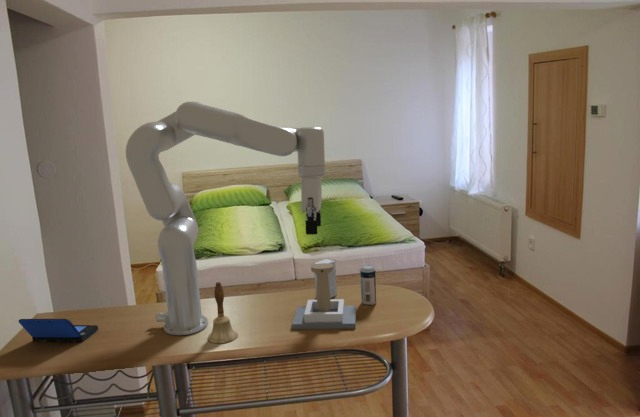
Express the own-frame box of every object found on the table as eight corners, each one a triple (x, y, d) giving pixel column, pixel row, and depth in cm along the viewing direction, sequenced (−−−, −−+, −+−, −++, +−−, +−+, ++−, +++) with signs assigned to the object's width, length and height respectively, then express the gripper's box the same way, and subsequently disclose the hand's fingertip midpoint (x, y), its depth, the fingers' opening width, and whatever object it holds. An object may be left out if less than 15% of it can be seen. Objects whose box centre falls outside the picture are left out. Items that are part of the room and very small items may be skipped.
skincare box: (328, 292, 173) (326, 258, 170) (337, 295, 169) (335, 261, 167) (315, 297, 169) (313, 263, 166) (323, 300, 166) (322, 265, 163)
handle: (335, 317, 149) (333, 268, 146) (313, 318, 149) (310, 268, 146) (335, 310, 153) (333, 263, 150) (313, 311, 154) (311, 263, 151)
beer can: (379, 303, 161) (378, 266, 159) (367, 307, 159) (366, 270, 156) (369, 298, 165) (368, 263, 163) (358, 302, 163) (356, 266, 160)
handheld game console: (100, 329, 153) (96, 300, 151) (73, 350, 140) (68, 319, 138) (52, 328, 155) (48, 300, 153) (21, 349, 142) (16, 318, 140)
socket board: (292, 329, 146) (291, 316, 145) (297, 310, 159) (297, 298, 158) (355, 328, 144) (354, 315, 143) (356, 310, 157) (355, 297, 156)
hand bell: (206, 333, 146) (201, 280, 143) (235, 328, 148) (230, 276, 145) (209, 346, 138) (204, 290, 135) (240, 340, 141) (235, 285, 137)
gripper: (302, 167, 153) (304, 223, 157) (293, 175, 136) (296, 237, 140) (327, 167, 152) (329, 223, 156) (321, 175, 135) (323, 237, 139)
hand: (313, 229), depth 148 cm, fingers open, 9 cm apart
